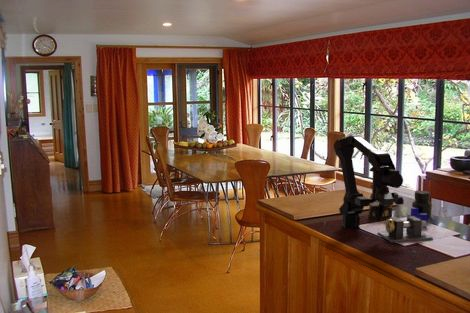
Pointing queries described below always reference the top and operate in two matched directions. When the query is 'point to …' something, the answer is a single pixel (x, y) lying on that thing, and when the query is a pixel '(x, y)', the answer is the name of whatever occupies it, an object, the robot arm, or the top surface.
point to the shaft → (391, 227)
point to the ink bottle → (423, 203)
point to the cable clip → (417, 214)
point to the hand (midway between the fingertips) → (378, 221)
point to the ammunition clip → (386, 214)
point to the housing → (406, 231)
